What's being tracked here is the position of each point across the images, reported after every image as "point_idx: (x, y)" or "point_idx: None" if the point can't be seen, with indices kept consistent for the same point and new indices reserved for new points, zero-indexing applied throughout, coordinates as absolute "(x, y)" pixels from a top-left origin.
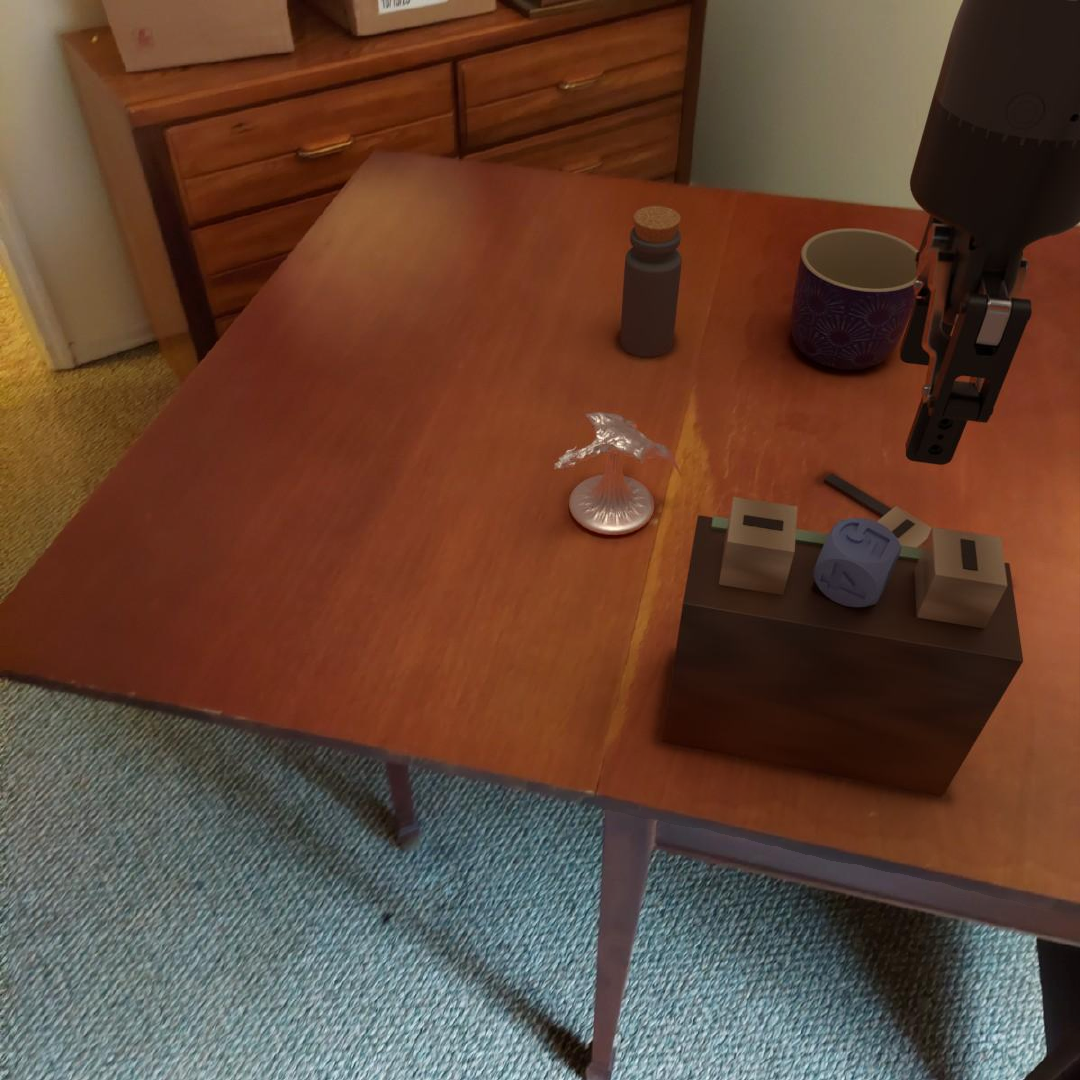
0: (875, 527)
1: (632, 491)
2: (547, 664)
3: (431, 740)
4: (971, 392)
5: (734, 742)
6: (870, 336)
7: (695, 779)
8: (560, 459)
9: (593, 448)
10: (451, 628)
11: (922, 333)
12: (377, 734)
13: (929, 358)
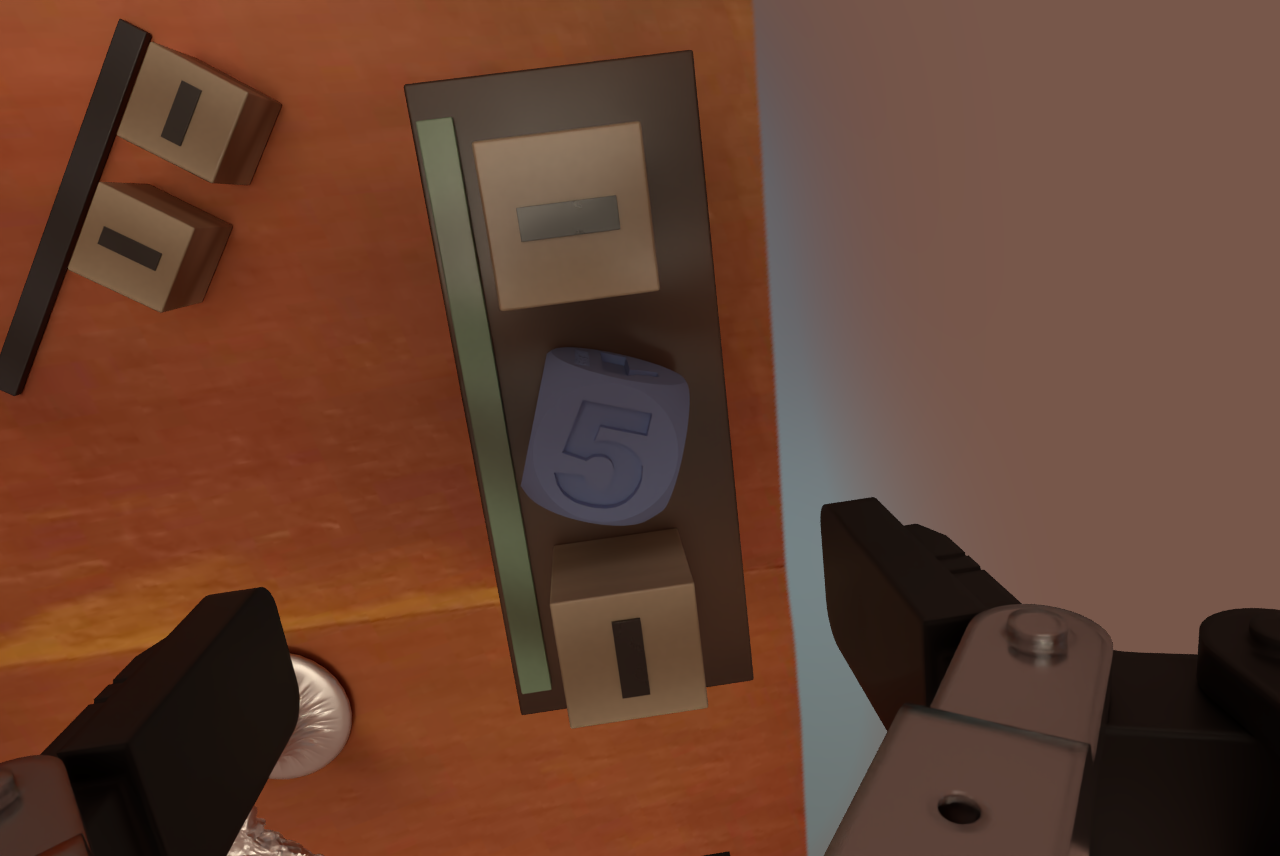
0: (556, 437)
1: None
2: None
3: (782, 765)
4: (1273, 772)
5: None
6: None
7: (732, 454)
8: None
9: (270, 848)
10: (608, 816)
11: (237, 753)
12: (793, 822)
13: (265, 631)
